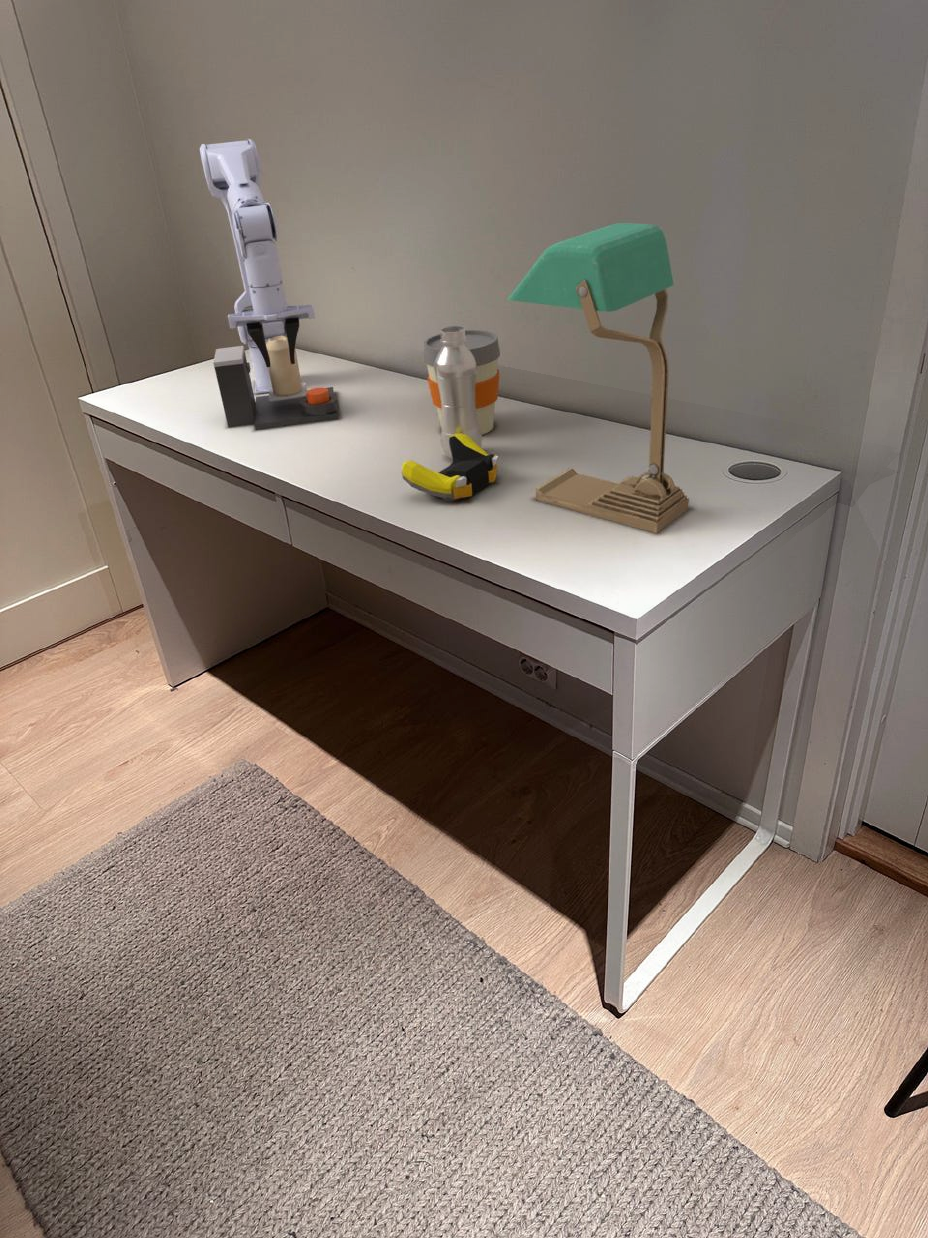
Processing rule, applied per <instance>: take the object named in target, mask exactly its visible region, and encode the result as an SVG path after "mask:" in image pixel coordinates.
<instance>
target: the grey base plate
mask: <svg viewBox="0 0 928 1238" xmlns="http://www.w3.org/2000/svg"><path fill="white" fill-rule="evenodd" d="M326 388H327V389H328V392H329V398H330V400H329V401H328V402H325V403H321V404H309V403H308V400H307V397H303V398H295V399H288V400H280V401H272V402H269V394H268V395H260V396H255V402H256V404H255V420H254V424H253V425H254V426H253V427H254V431H262V430H268V429H269V430H271V429H277V428H278V429H279V428H284V427H285V428H286V427H291V426H299V425H300V426H301V425H306V424H307V425H308V424H315V423H321V422H322V423H323V422H329V421H337V420H339V414H338V410H339V409H340V405H339V399H338V396H337V395H336V394H335V391H334V387H333V386H328V387H326ZM308 390H309V389H307V391H308Z"/></svg>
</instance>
